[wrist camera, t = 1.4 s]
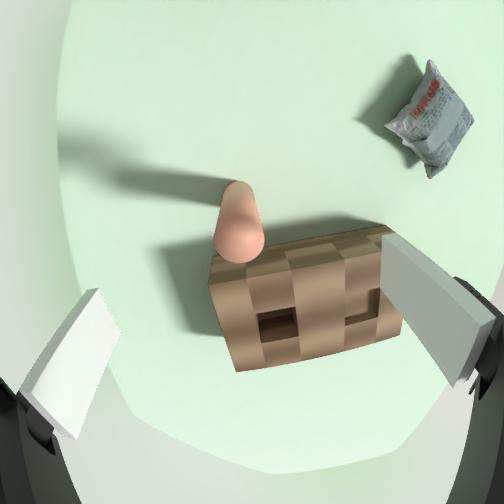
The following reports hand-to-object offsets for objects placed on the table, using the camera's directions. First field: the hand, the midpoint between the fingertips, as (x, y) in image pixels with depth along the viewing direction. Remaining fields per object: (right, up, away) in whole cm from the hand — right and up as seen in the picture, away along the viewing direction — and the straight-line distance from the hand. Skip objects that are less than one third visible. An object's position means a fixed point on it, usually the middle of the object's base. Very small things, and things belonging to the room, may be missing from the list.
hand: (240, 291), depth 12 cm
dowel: (-1, +7, +16) cm, 17 cm away
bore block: (+7, -2, +20) cm, 22 cm away
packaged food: (+20, +17, +13) cm, 29 cm away
